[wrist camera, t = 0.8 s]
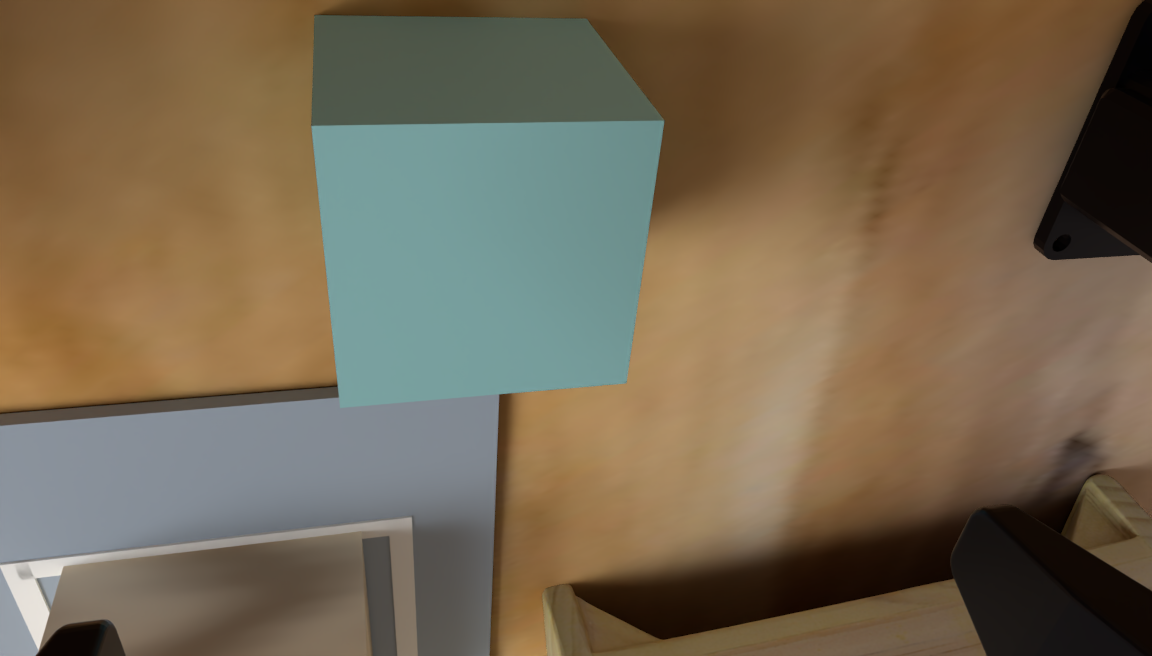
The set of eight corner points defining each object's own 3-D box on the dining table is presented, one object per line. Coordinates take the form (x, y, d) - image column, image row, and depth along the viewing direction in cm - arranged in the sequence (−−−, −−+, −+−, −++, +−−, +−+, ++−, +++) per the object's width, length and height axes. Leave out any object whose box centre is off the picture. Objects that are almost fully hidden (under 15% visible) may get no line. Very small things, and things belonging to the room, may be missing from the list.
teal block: (585, 17, 17) (664, 120, 13) (566, 243, 20) (626, 383, 16) (314, 13, 16) (311, 126, 12) (336, 253, 19) (340, 408, 15)
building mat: (497, 373, 21) (500, 385, 21) (485, 699, 29) (487, 712, 29) (-175, 428, 18) (-186, 443, 18) (20, 776, 26) (15, 792, 26)
